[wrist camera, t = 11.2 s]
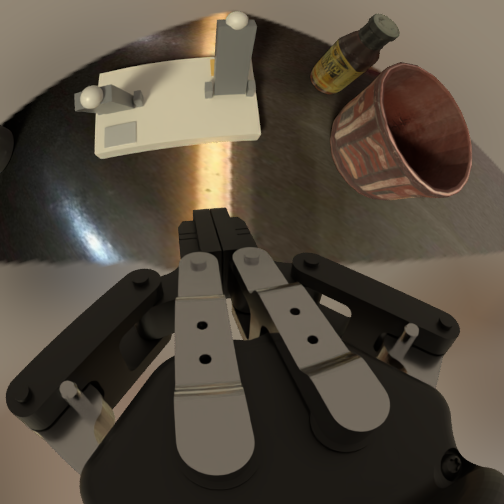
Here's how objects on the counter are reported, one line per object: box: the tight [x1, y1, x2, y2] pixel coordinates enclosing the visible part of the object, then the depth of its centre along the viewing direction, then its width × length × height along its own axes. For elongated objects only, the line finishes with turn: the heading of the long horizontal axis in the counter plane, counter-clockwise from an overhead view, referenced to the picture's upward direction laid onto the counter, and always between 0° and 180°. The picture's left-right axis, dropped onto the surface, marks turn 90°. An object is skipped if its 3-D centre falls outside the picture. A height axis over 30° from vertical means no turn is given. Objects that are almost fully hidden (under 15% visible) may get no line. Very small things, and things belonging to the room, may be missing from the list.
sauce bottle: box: [310, 14, 399, 94], centre depth 32 cm, size 7×6×20 cm
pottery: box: [330, 62, 472, 200], centre depth 35 cm, size 18×18×18 cm
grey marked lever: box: [75, 84, 134, 114], centre depth 27 cm, size 3×4×14 cm, turn 96°
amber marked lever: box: [213, 11, 257, 96], centre depth 29 cm, size 3×4×14 cm, turn 96°
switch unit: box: [95, 57, 261, 159], centre depth 35 cm, size 14×24×5 cm, turn 96°
